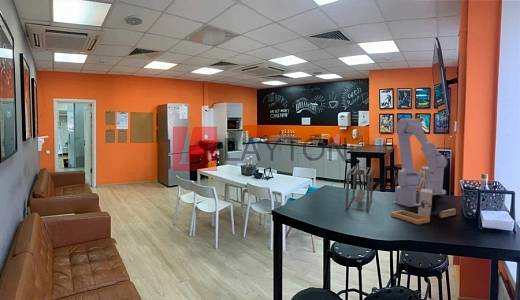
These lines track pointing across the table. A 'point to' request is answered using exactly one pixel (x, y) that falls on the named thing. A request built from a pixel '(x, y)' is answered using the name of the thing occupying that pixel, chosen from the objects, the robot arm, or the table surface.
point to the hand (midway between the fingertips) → (433, 210)
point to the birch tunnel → (447, 213)
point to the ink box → (425, 202)
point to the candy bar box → (424, 178)
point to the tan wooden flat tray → (410, 217)
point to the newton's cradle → (360, 192)
